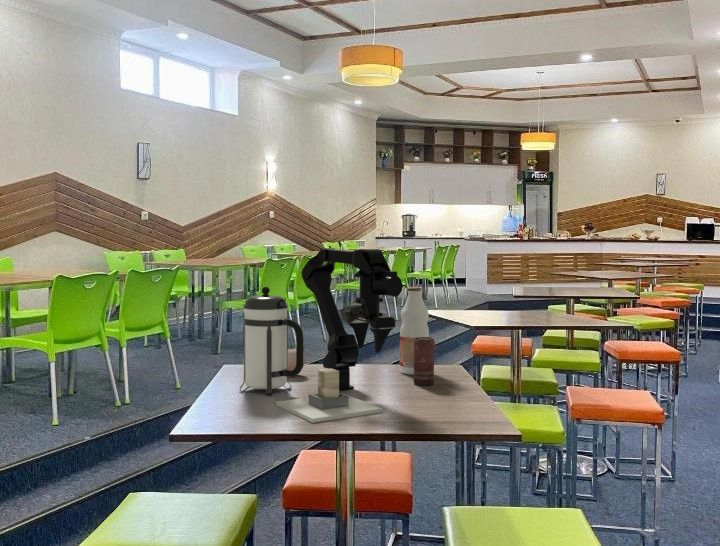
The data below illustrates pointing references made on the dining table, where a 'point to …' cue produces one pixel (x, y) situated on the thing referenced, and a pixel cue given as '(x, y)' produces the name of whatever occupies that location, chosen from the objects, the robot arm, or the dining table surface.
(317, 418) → the socket board
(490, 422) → the dining table surface
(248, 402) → the dining table surface
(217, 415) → the dining table surface
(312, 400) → the square socket
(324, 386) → the square peg
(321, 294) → the robot arm
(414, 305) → the fruit juice
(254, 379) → the coffee press
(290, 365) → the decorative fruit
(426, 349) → the can
